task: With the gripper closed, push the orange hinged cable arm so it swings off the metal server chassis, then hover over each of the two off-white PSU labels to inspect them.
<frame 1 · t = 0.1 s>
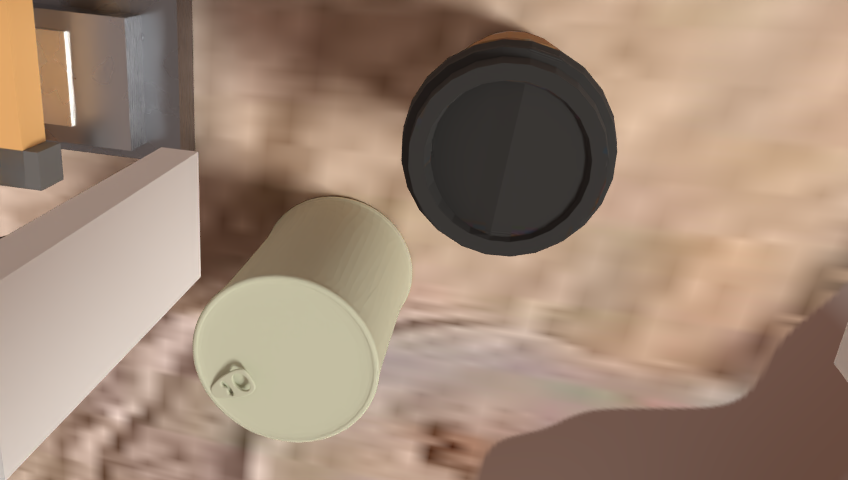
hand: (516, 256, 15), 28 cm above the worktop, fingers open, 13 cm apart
coffee cup: (511, 89, 42), on the worktop
can: (339, 265, 47), on the worktop
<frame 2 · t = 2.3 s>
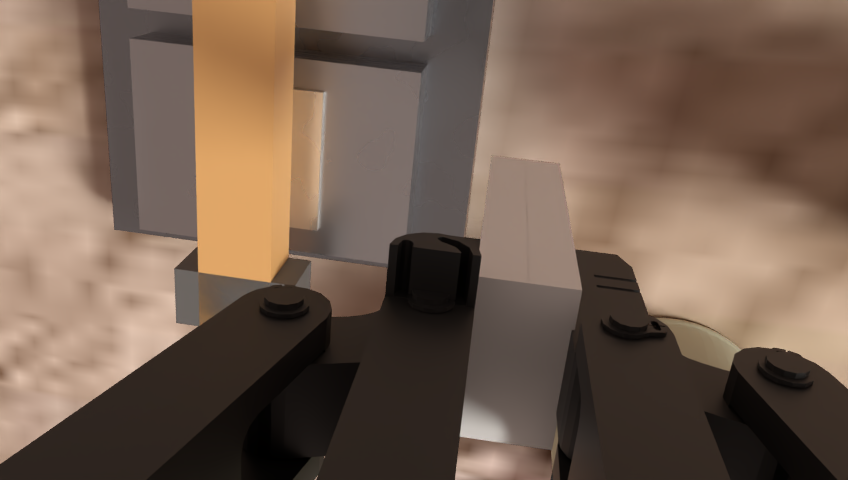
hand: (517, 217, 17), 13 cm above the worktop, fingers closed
cable arm: (245, 17, 22), point 6 cm above the worktop, hinge at 0.0°
can: (651, 407, 33), on the worktop
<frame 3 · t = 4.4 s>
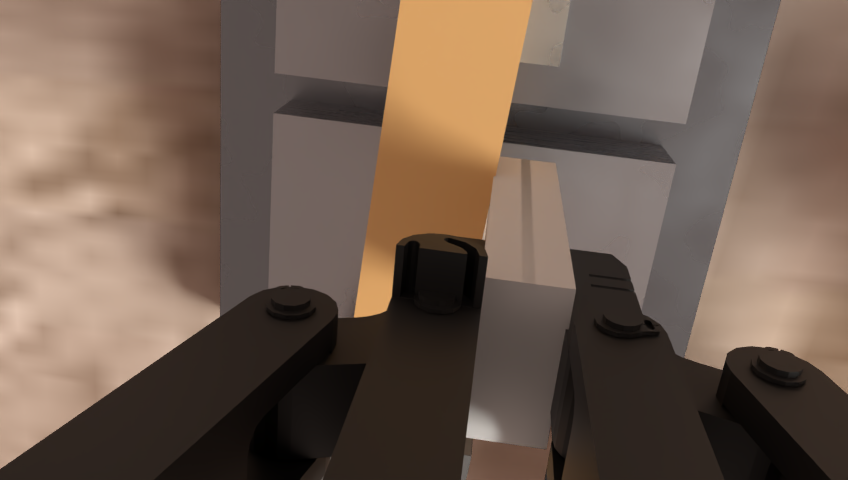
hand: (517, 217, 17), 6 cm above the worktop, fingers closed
cable arm: (450, 95, 16), point 6 cm above the worktop, hinge at 3.5°, touching gripper
chassis: (486, 37, 21), on the worktop
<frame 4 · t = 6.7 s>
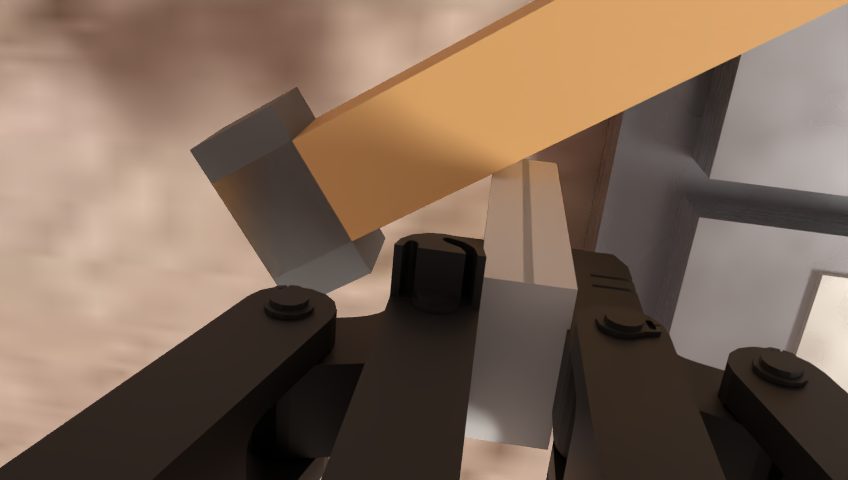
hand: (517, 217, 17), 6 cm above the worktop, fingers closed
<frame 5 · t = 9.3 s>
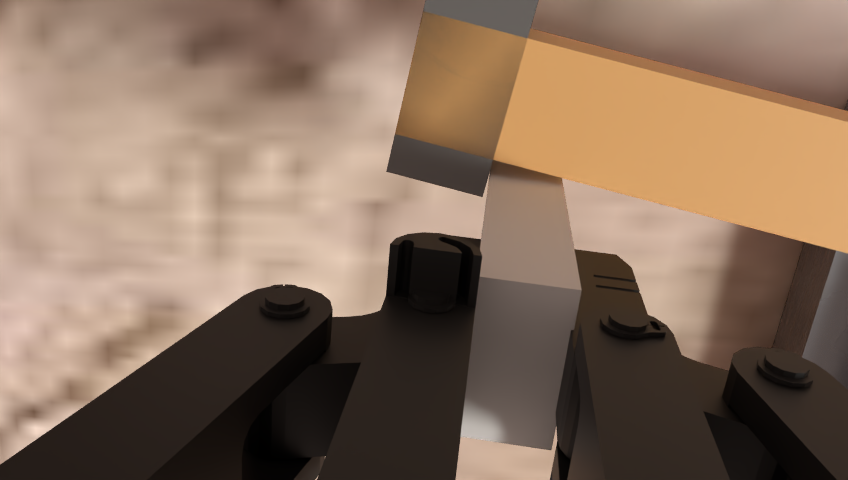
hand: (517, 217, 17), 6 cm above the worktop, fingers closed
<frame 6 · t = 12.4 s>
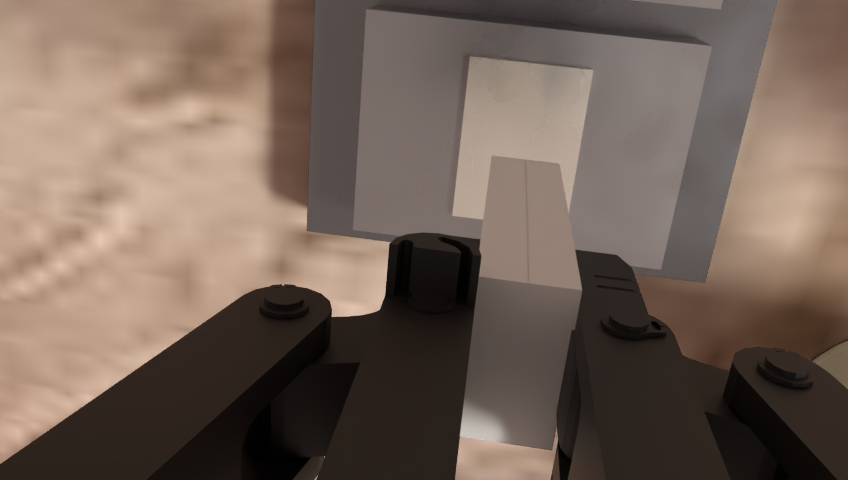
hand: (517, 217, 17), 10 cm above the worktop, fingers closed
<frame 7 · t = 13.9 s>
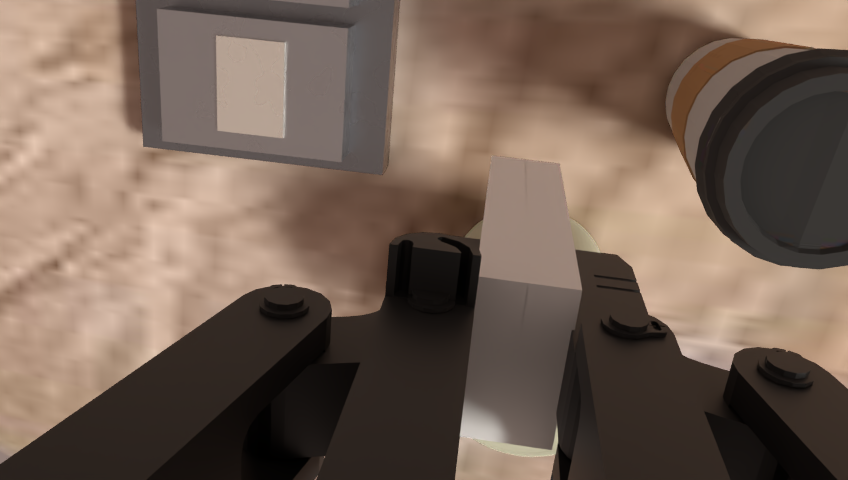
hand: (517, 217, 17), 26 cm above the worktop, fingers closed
coffee cup: (723, 96, 41), on the worktop
can: (527, 275, 46), on the worktop
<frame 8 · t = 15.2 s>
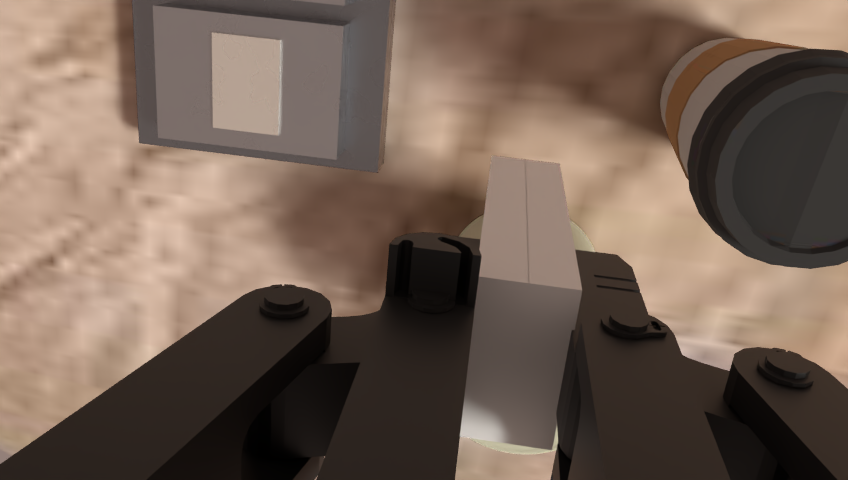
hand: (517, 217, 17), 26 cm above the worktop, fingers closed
coffee cup: (718, 96, 41), on the worktop
can: (521, 274, 46), on the worktop
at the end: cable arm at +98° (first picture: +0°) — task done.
